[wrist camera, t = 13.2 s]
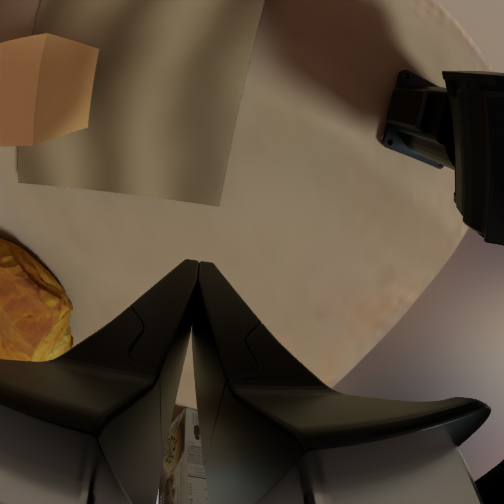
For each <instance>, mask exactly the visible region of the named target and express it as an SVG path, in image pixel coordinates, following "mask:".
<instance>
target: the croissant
mask: <svg viewBox="0 0 504 504" xmlns="http://www.w3.org/2000/svg"><path fill="white" fill-rule="evenodd" d="M71 310H73V306H72V303H71V302H70V301H69V299H68V297H67V295H66V293H65V291H64V290H63V288H62V287H61V286H60V285H59V283H58V282H57V281H56V279H55V278H54V277H53V275H52V274H51V273H50V272H49V271H47V270H46V269H45V268H44V267H43V266H42V265H41V264H40V263H39V262H38V261H37V260H36V259H34V258H33V257H32V256H30V255H29V254H28V253H27V252H26V251H25V250H24V249H22V248H20V247H18V246H17V245H15V244H14V243H11V242H9V241H6V240H4V239H2V238H0V359H6V360H19V361H34V362H42V361H48V360H52V359H54V358H57V357H59V356H60V355H62V354H64V353H65V352H67V351H68V350H70V349H71V348H72V345H73V337H72V336H71V330H70V327H69V323H70V311H71Z"/></svg>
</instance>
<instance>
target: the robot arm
mask: <svg viewBox="0 0 504 504" xmlns="http://www.w3.org/2000/svg"><path fill="white" fill-rule="evenodd" d="M404 74H406V76H407V78H406V79H405V78H404ZM442 75H443V79H444V80H445V83H446V88H442V87H437V86H436V85H434V84H432V83H430V82H429V81H427V80H425V79H423V78H421V77H419V76H417V75H416V74H414V73H412V72H410V71H408V70H401V71H400V72H399V75H398V79H397V83H396V88H395V89H394V90H393V94H392V98H391V102H390V106H389V110H388V114H387V118H386V119H387V124H386V128H385V131H384V135H383V139H382V144H383V146H384V147H386V148H389V149H391V150H394V151H397V152H399V153H402V154H405V155H407V156H410V157H412V158H415V159H417V160H420V161H422V162H425V163H427V164H429V165H432V166H434V167H436V168H439V169H441V168H443V167H444V166H446V167H448V168H451V169H453V170H455V193H454V202H455V203H456V207H457V209H458V210H459V212H460V213H461V215H462V216H463V222H464V223H465V224H466V225H467V226H468V227H470V228H471V229H473V230H474V231H476V232H477V233H478V234H479V235H481V236H482V237H483V238H484V241H485V242H487V243H492V244H499V245H503V246H504V73H497V72H485V71H442ZM389 139H390V144H388V143H387V141H388V140H389ZM438 163H439V164H438ZM191 327H192V350H193V364H194V377H195V389H196V400H197V411H198V421H199V430H200V439H201V447H202V455H203V463H204V471H205V478H206V485H207V491H208V498H209V504H504V460H503V461H502V462H501V463H499V464H498V465H497V466H495V467H494V468H493V469H491V470H490V471H489V472H487V473H486V474H485V475H483V476H482V477H481V478H479V479H478V480H476V481H474V480H473V477H472V475H471V473H470V470H469V468H468V466H467V464H466V462H465V460H464V458H463V456H462V453H461V451H460V449H459V446H460V445H461V444H462V443H463V442H464V441H466V440H467V439H468V438H469V437H470V436H471V435H472V434H473V433H474V432H475V431H477V429H479V428H480V427H481V425H482V424H483V423H484V422H485V421H486V420H487V418H488V417H489V415H490V413H491V408H490V407H489V406H488V405H487V404H485V403H483V402H481V401H479V400H477V399H472V398H464V397H454V398H449V399H445V400H440V401H429V402H413V401H399V400H388V399H379V398H369V397H362V396H354V395H347V394H343V393H340V392H337V391H335V390H333V389H331V388H330V387H328V386H327V385H326V384H324V383H323V382H322V381H321V380H320V379H318V378H317V377H316V376H315V375H314V374H313V373H312V372H311V371H309V370H308V369H307V368H306V367H305V366H304V365H303V364H302V363H301V362H299V361H298V360H297V359H296V358H295V357H294V356H293V355H292V354H291V353H290V352H289V351H288V350H287V349H286V348H285V347H284V346H282V345H281V344H280V343H279V341H278V340H277V339H276V338H275V337H274V336H273V335H272V334H271V333H270V332H269V330H268V329H267V328H266V327H265V326H264V324H262V323H261V321H260V320H259V319H258V317H257V316H256V315H255V314H254V313H253V311H252V310H251V309H250V308H249V307H248V305H247V304H246V303H245V302H244V300H243V299H242V298H241V297H240V296H239V294H238V293H237V292H236V291H235V289H234V288H233V287H232V286H231V285H230V283H229V282H228V281H227V280H226V278H225V277H224V276H223V275H222V273H221V272H220V271H219V270H218V268H217V267H216V266H215V265H214V264H213V263H211V262H204V261H201V262H200V263H199V262H198V261H196V260H189V259H186V260H184V261H183V262H182V263H180V264H179V265H178V266H177V267H176V268H174V269H173V270H172V271H171V272H169V273H168V274H167V275H166V276H165V277H163V278H162V279H161V280H160V281H159V282H158V283H156V284H155V285H154V286H153V287H152V288H150V289H149V290H148V291H147V292H146V293H144V294H143V295H142V296H141V297H140V298H139V299H137V300H136V301H135V302H134V303H133V304H132V305H130V307H128V308H127V309H126V310H124V311H123V312H122V313H121V314H120V315H118V316H117V317H116V318H115V319H113V320H112V321H111V322H110V323H108V324H107V325H105V326H104V327H103V328H101V329H100V330H98V331H97V332H95V333H94V334H92V335H91V336H89V337H88V338H86V339H85V340H83V341H82V342H80V343H79V344H77V345H76V346H74V347H73V348H71V349H70V350H68V351H67V352H65V353H64V354H62V355H60V356H59V357H57V358H54V359H52V360H48V361H42V362H34V361H19V360H6V359H0V504H156V500H157V495H158V489H159V483H160V477H161V472H162V466H163V461H164V456H165V450H166V445H167V440H168V435H169V430H170V425H171V420H172V415H173V410H174V406H175V401H176V396H177V392H178V387H179V382H180V378H181V373H182V369H183V365H184V360H185V356H186V351H187V347H188V343H189V339H190V334H191Z"/></svg>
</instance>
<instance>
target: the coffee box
mask: <svg viewBox="0 0 504 504" xmlns="http://www.w3.org/2000/svg"><path fill="white" fill-rule="evenodd" d="M159 504H209V498H208V491H207V485H206V478H205V471H204V463H203V455H202V447H201V439H200V430H199V421H198V411H197V410H193V409H190V408H184V409H183V410H182V412H181V413H180V414H179V415H178V416H177V417H176V419H175V420H174V421H173V422H172V423H171V425H170V430H169V435H168V440H167V445H166V450H165V456H164V461H163V466H162V472H161V477H160V483H159Z"/></svg>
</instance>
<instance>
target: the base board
mask: <svg viewBox="0 0 504 504" xmlns="http://www.w3.org/2000/svg"><path fill="white" fill-rule="evenodd" d="M264 2H265V0H42V1H41V4H40V8H39V11H38V14H37V18H36V22H35V25H34V29H33V33H32V36H33V35H39V34H44V33H48V34H52V35H56V36H59V37H63V38H66V39H70V40H73V41H76V42H80V43H83V44H86V45H89V46H92V47H95V48H98V49H99V53H98V58H97V64H96V69H95V75H94V81H93V88H92V95H91V103H90V111H89V120H88V128H85V129H81V130H78V131H75V132H72V133H69V134H65V135H62V136H59V137H56V138H54V139H51V140H48V141H45V142H42V143H39V144H37V145H34V146H18V183H28V184H39V185H50V186H61V187H71V188H80V189H90V190H99V191H108V192H116V193H124V194H132V195H140V196H148V197H156V198H163V199H171V200H178V201H185V202H192V203H199V204H205V205H212V206H219V205H220V200H221V195H222V189H223V184H224V179H225V174H226V169H227V163H228V158H229V153H230V149H231V144H232V139H233V134H234V129H235V124H236V120H237V115H238V110H239V106H240V101H241V97H242V92H243V88H244V84H245V79H246V75H247V71H248V66H249V62H250V58H251V54H252V50H253V45H254V41H255V37H256V33H257V29H258V25H259V21H260V18H261V14H262V10H263V6H264Z"/></svg>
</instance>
